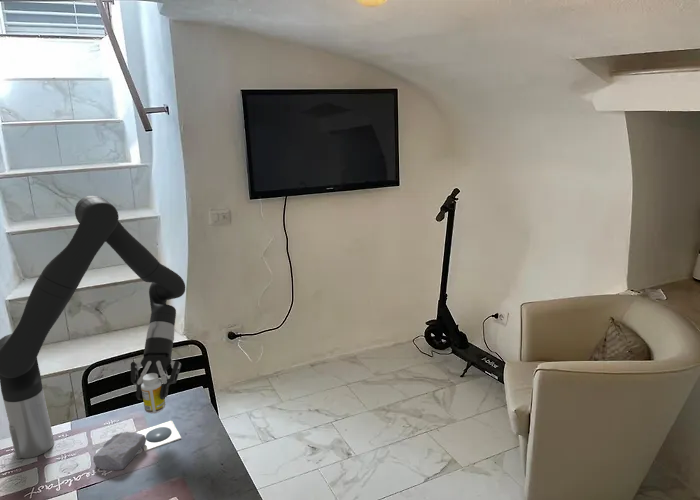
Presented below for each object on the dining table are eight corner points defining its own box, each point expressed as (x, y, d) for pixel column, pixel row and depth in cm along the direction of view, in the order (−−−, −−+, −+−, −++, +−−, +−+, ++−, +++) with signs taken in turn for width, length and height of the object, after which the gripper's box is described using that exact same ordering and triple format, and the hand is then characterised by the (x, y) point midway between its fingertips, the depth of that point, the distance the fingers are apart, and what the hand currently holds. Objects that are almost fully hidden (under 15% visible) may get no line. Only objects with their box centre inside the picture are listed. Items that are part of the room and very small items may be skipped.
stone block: (92, 474, 140) (124, 471, 137) (86, 458, 139) (118, 455, 136) (120, 446, 151) (150, 443, 148) (114, 431, 150) (145, 428, 147)
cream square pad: (144, 451, 145) (144, 450, 145) (136, 432, 154) (136, 431, 153) (181, 438, 151) (181, 437, 150) (171, 421, 159) (171, 420, 159)
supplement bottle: (167, 402, 153) (162, 370, 150) (164, 413, 148) (159, 380, 145) (147, 404, 152) (141, 372, 149) (143, 415, 147) (137, 382, 144)
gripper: (130, 336, 151) (119, 397, 143) (180, 335, 151) (173, 395, 143) (139, 345, 158) (130, 403, 150) (188, 343, 158) (181, 401, 150)
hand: (151, 399), depth 147 cm, fingers closed on supplement bottle, 5 cm apart
